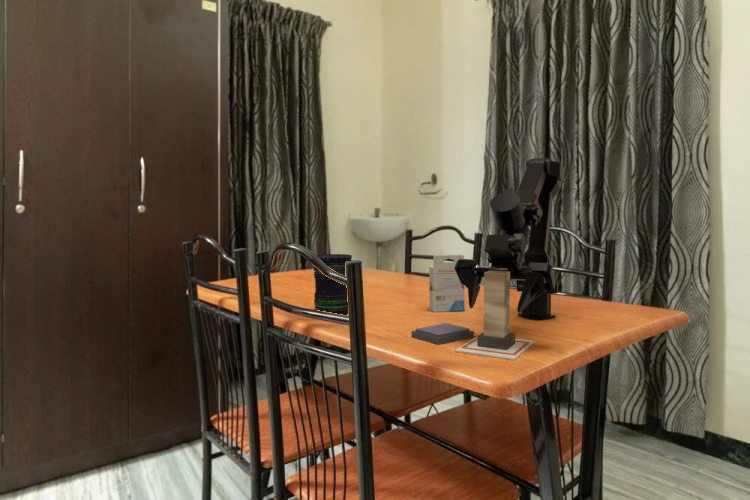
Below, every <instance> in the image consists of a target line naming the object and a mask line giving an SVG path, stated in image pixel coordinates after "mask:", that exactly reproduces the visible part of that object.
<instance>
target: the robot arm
mask: <svg viewBox="0 0 750 500" xmlns="http://www.w3.org/2000/svg"><path fill="white" fill-rule="evenodd" d="M564 179H565V167H564V166H563V164H562V163H561V162H557V161H554V160H550V158H547V157H539V158H529V159H527V160H526V163H525V171H524V173H523V176H522V178H521V180H520V184H519V186H518V189H517V190H516V192H515V189H514V188H504V189H503V192H501V193H497V194H496V195H495V196H493V198H491V199H490V202H489V207H490V209H491V213H492V216H493V219H494V223H495V226H496V229H498V230H500V234H487V235H486V238H485V245H484V250H483V251H484V252H485V253H487V259H486V260H487V263H488V264H491V265H490V266H485V265H480V264H479V262H478V259H471V258H469V259H468V258H464V259H459V260H458V261H457V262H456V265H455V271H456V273H457V275H458V278H459V280H460V283H461V284H463V285H465V288H466V289H467V296H468V297H467V298H468V306H469V309H473V308H474V306H475V304H476V302H477V299H478V295H479V293H480V290H481V285H480V284H481V283H482V278H484V272H488V271H509V272H510V281H515V282H516V291H517V292H521V293H520V297H519V300H518V304H517V308H516V310H517V311H516V312H517V316H520V317H524V318H529V319H532V320H535V321H536V320H538V321H540V320H544V319H551V318H556V314H551V313H552V311H551V310H552V308H551V307H552V295H553V294H558V293H559V284H558V277H557V276H558V275H557V274H556V272H555V268H554V263H553V262H552V260H551V258H550V256H549V255H548V251H549V250H548V249H549V239H550V230H551V220H552V219H551V218H552V207H553V200H554V198H555V196H556V195H557V194H558V193H559V192H560V191H561V188H562V187H561V186H562V182H563V181H564ZM529 227H530V228H529ZM527 245H528V246H527Z"/></svg>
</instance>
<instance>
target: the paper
mask: <svg viewBox="0 0 750 500" xmlns="http://www.w3.org/2000/svg"><path fill="white" fill-rule="evenodd" d="M477 338H478V335H477V336H476V337H473V338H472V339H470V340H469V341H468V342H466V343H464V344H463V345H460V346H459V347H458V348H456V349H454V352H455V353H461V354H469V355H475V356H483V357H489V358H495V359H496V358H497V359H503V360H511V361H516V360H517V358H519V357H520V356H521V355H522V354H523V353H525V352H526V351H527V350H528V349H529V348H530V347H531V346H532V345H533V344H534V343H535V340H530V339H522V338H515V344H514V345H513V346H511V347H510V348H509V349H508V350H501V349H493V348H486V347H478V346H477Z"/></svg>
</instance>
